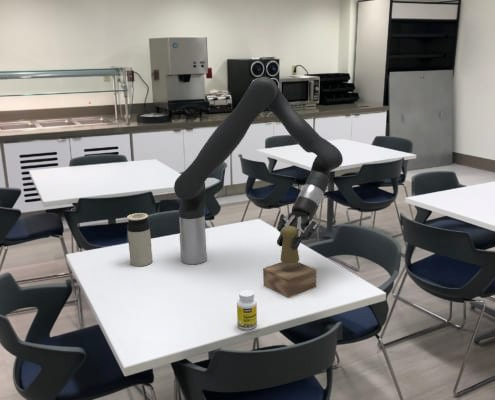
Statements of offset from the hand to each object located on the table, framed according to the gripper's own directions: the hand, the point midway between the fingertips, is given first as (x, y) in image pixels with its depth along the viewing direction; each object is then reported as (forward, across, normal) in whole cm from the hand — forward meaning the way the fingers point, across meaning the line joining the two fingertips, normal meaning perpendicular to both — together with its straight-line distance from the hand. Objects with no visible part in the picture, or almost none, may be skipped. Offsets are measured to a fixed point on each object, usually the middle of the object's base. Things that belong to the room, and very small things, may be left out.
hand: (286, 246), depth 160 cm
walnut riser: (+9, 0, +11) cm, 14 cm away
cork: (+2, 0, +5) cm, 6 cm away
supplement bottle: (+28, +6, -8) cm, 30 cm away
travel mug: (+21, -55, -2) cm, 59 cm away
